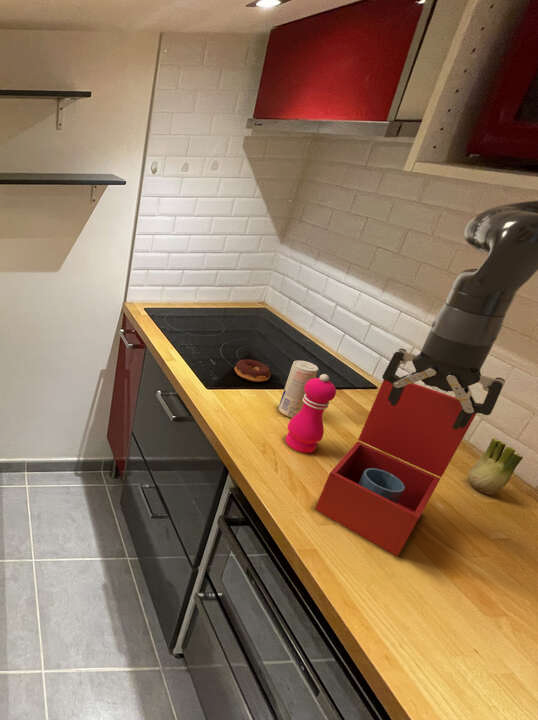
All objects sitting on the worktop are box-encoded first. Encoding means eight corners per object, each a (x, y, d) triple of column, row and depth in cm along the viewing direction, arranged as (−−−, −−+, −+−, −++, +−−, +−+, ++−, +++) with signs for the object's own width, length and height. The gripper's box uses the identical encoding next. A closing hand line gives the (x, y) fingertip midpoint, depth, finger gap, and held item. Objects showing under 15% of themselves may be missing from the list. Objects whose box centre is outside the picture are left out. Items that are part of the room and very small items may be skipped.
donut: (238, 364, 145) (240, 353, 143) (271, 374, 139) (275, 363, 138) (229, 376, 138) (232, 365, 136) (265, 388, 132) (268, 376, 131)
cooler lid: (479, 407, 78) (485, 397, 81) (385, 374, 88) (393, 366, 91) (441, 477, 85) (447, 465, 88) (357, 440, 95) (366, 430, 98)
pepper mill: (276, 438, 111) (299, 369, 103) (298, 432, 113) (322, 364, 105) (301, 457, 105) (328, 385, 97) (324, 451, 107) (352, 380, 99)
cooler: (397, 556, 81) (418, 517, 77) (314, 509, 91) (330, 472, 87) (420, 515, 90) (440, 478, 86) (342, 475, 100) (357, 441, 96)
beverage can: (306, 418, 119) (324, 370, 113) (286, 419, 118) (303, 370, 112) (292, 406, 124) (308, 359, 118) (273, 407, 123) (288, 359, 117)
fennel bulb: (500, 501, 93) (529, 457, 88) (469, 493, 96) (496, 449, 91) (489, 483, 98) (516, 440, 93) (460, 475, 100) (485, 433, 95)
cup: (393, 527, 86) (409, 496, 83) (353, 515, 89) (368, 484, 85) (384, 504, 91) (399, 474, 88) (347, 493, 94) (360, 464, 91)
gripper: (529, 343, 69) (482, 427, 76) (413, 314, 80) (381, 390, 86) (522, 357, 65) (473, 445, 72) (400, 324, 76) (368, 404, 82)
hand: (423, 415), depth 79 cm, fingers open, 8 cm apart
